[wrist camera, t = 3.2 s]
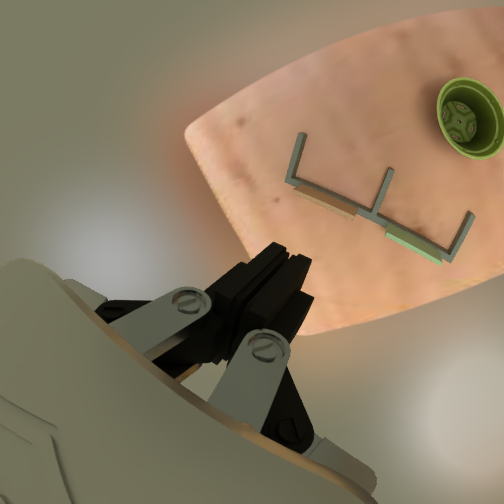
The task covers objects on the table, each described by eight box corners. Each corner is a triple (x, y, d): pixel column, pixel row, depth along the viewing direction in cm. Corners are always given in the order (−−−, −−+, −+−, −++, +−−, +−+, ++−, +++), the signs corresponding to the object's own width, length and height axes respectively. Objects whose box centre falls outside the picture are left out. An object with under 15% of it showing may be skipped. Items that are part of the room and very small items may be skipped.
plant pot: (422, 140, 29) (430, 140, 23) (432, 79, 25) (441, 65, 18) (478, 164, 26) (498, 173, 19) (489, 105, 21) (511, 98, 15)
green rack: (302, 132, 38) (288, 132, 33) (472, 213, 29) (482, 225, 24) (288, 180, 42) (273, 186, 38) (448, 258, 33) (454, 276, 29)
